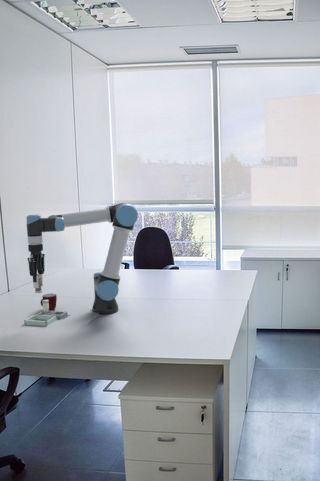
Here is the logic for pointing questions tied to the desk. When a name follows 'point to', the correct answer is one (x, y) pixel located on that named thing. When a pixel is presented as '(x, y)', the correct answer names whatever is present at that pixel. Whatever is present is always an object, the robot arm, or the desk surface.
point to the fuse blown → (38, 290)
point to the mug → (50, 301)
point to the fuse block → (56, 314)
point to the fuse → (45, 306)
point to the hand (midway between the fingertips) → (38, 286)
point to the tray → (32, 321)
